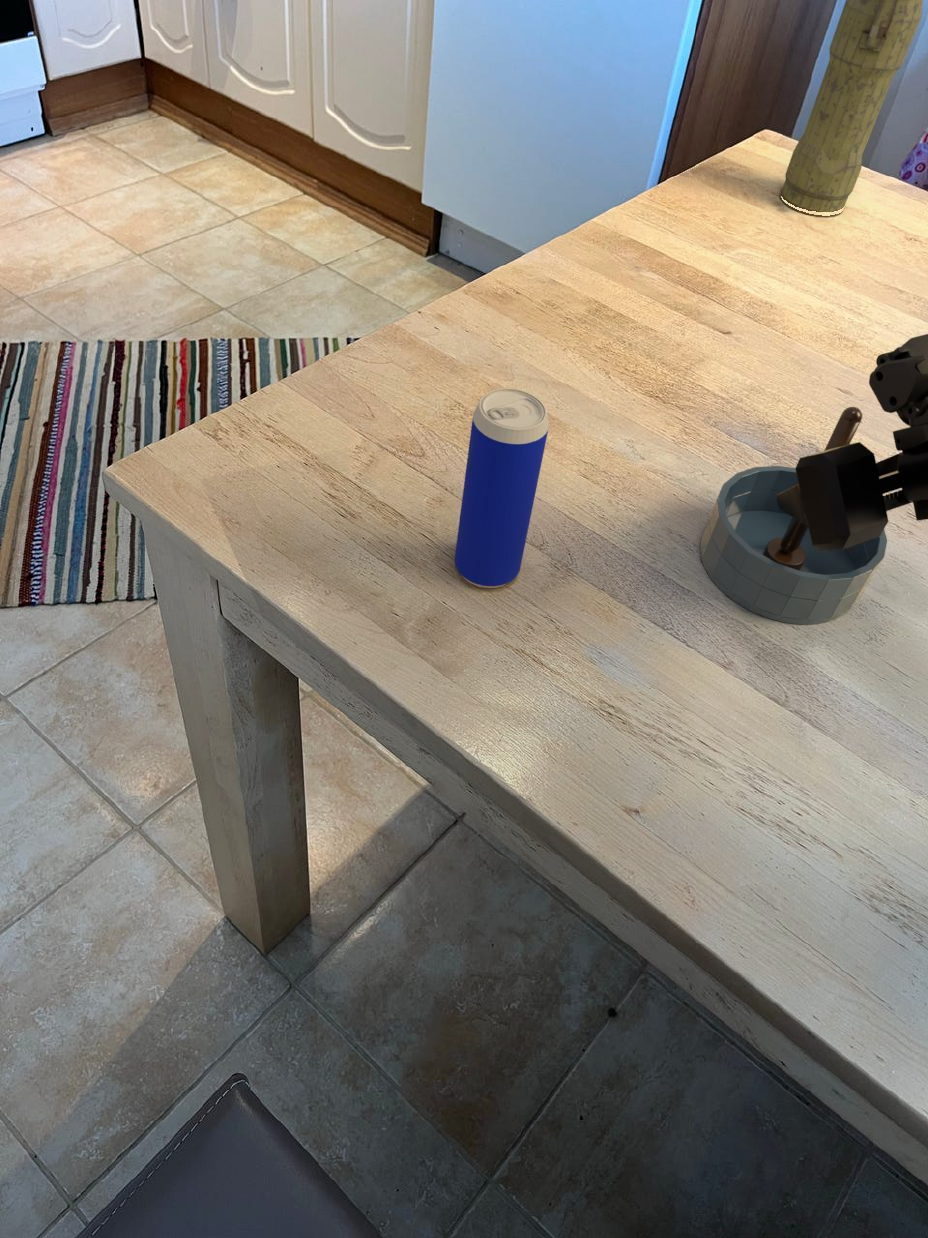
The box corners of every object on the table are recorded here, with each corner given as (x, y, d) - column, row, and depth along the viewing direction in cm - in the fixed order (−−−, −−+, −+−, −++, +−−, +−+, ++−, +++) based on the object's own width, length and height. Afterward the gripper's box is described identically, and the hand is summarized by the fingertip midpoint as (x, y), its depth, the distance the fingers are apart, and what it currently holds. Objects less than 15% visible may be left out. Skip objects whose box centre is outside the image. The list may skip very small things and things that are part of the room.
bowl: (870, 544, 81) (895, 499, 77) (847, 648, 72) (875, 603, 68) (720, 492, 83) (738, 447, 80) (682, 586, 75) (700, 540, 71)
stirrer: (809, 569, 77) (888, 418, 66) (777, 577, 76) (852, 425, 65) (786, 543, 79) (859, 392, 68) (755, 550, 78) (823, 398, 67)
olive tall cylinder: (842, 190, 132) (965, -124, 106) (846, 227, 124) (980, -104, 98) (778, 178, 132) (885, -137, 106) (778, 213, 124) (894, -118, 99)
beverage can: (500, 539, 76) (528, 380, 65) (530, 582, 73) (565, 423, 62) (442, 554, 74) (461, 393, 63) (471, 599, 72) (496, 438, 60)
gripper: (1093, 296, 59) (891, 358, 74) (881, 348, 52) (702, 406, 66) (1125, 470, 61) (920, 497, 75) (922, 544, 53) (738, 559, 68)
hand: (825, 487), depth 71 cm, fingers open, 9 cm apart
